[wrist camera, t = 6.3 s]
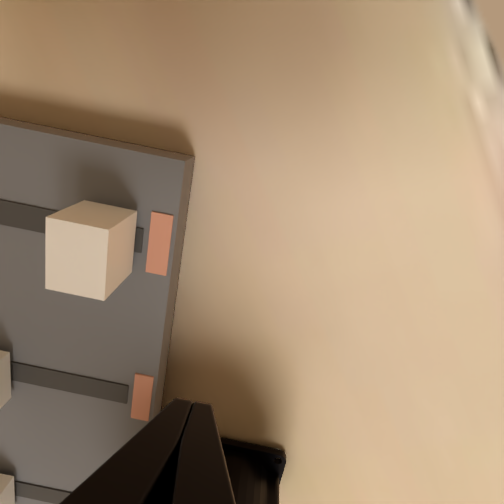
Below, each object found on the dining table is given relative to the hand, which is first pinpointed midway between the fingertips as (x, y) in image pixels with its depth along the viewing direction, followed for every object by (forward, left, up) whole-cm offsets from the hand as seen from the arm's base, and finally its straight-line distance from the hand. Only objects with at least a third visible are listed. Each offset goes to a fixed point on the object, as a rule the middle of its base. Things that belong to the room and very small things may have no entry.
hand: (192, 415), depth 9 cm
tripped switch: (+6, 0, -9) cm, 11 cm away
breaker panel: (+9, +8, -12) cm, 17 cm away
